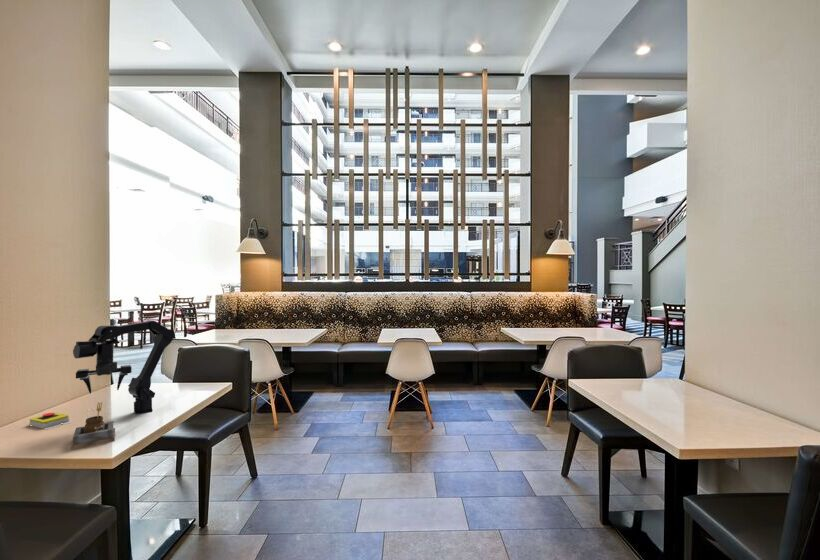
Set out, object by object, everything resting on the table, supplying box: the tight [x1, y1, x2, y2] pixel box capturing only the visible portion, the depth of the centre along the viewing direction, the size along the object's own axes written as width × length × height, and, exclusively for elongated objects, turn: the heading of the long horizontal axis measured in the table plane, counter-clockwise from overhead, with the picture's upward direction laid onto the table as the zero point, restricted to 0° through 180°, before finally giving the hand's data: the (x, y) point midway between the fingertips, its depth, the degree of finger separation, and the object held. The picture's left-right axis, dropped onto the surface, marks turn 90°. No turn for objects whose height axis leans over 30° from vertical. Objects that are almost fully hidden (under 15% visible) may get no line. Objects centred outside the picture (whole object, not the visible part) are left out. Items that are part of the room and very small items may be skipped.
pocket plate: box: [70, 420, 116, 450], centre depth 150 cm, size 12×12×4 cm
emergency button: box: [28, 412, 73, 430], centre depth 168 cm, size 9×4×15 cm
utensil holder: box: [84, 401, 105, 434], centre depth 150 cm, size 6×6×12 cm
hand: (104, 391), depth 169 cm, fingers open, 9 cm apart
